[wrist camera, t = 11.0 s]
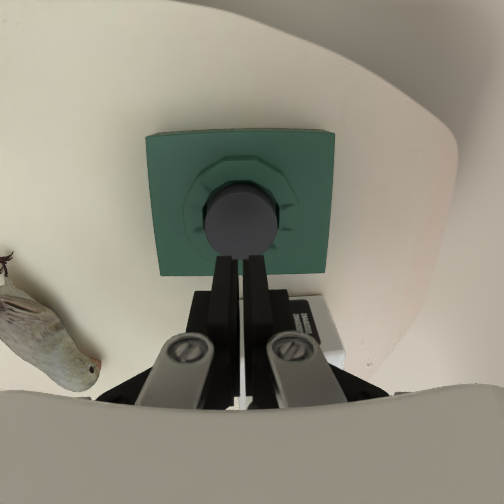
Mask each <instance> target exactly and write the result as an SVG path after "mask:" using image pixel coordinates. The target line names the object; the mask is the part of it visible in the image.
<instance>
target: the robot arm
mask: <svg viewBox="0 0 504 504" xmlns="http://www.w3.org/2000/svg"><path fill="white" fill-rule="evenodd" d="M243 327H244V361H245V391H246V397H248V396H252V401H253V406H257V407H258V408H259V410H225V409H227V408H228V407H229V406H234V397H240V308H239V278H238V259H233V260H232V256H217V257H216V263H215V270H214V276H213V283H212V290H211V291H195V292H194V296H193V300H192V305H191V309H190V314H189V318H188V323H187V328H186V332H185V333H181V334H178V335H175V336H173V337H171V338H170V339H169V340H167V341H166V343H165V344H164V345H163V347H162V349H161V351H160V353H159V355H158V357H157V359H156V361H155V363H154V365H153V367H151V368H149V369H147V370H145V371H144V372H142V373H140V374H138V375H136V376H135V377H133V378H131V379H129V380H127V381H125V382H123V383H122V384H120V385H118V386H116V387H114V388H112V389H110V390H109V391H107V392H105V393H103V394H102V395H100V396H99V397H98V398H97V399H96V400H92V399H91V398H90V397H76V398H73V397H67V396H60V395H54V394H48V393H42V392H33V391H24V390H8V391H0V504H504V388H502V387H499V386H494V385H489V384H477V383H475V384H458V385H451V386H443V387H438V388H433V389H428V390H422V391H416V392H395V394H394V396H389V394H388V393H387V392H385V391H384V390H382V389H381V388H379V387H376V386H374V385H372V384H370V383H368V382H366V381H364V380H362V379H360V378H358V377H356V376H354V375H352V374H350V373H348V372H346V371H344V370H342V369H340V368H338V367H336V366H334V365H332V364H330V363H328V362H327V360H326V358H325V356H324V354H323V352H322V350H321V348H320V346H319V345H318V343H317V341H316V340H315V339H314V338H313V337H311V336H310V335H309V334H306V333H303V332H300V331H296V327H295V322H294V318H293V313H292V309H291V305H290V300H289V296H288V292H287V290H286V289H280V290H269V289H268V282H267V275H266V268H265V261H264V255H249V259H243Z"/></svg>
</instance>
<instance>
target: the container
mask: <svg viewBox="0 0 504 504" xmlns="http://www.w3.org/2000/svg"><path fill="white" fill-rule="evenodd" d="M289 300H290V305H291V309H292V313H293V318H294V322H295V327H296V331H300V332H303V333H306V334H309V335H310V336H311V337H313V338H314V339H315V340H316V341H317V343H318V345H319V346H320V348H321V350H322V352H323V354H324V356H325V358H326V360H327V362H328V363H330V364H332V365H334V366H336V367H338V368H340V369H342V370H343V366H344V361H345V356H346V352H345V349H344V346H343V344H342V341H341V339H340V336H339V333H338V331H337V328H336V325H335V323H334V320H333V318H332V315H331V313H330V310H329V308H328V305H327V303H326V300H325V298H324V297H323V296H322V295H316V296H301V297H289ZM239 308H240V397H238V404H239V410H259V408H258V407H257V406H253V401H252V396H248V397H246V391H245V361H244V327H243V300H239Z"/></svg>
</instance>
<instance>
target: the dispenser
mask: <svg viewBox="0 0 504 504" xmlns="http://www.w3.org/2000/svg"><path fill="white" fill-rule="evenodd" d="M145 139H146V154H147V167H148V178H149V189H150V199H151V208H152V217H153V225H154V233H155V241H156V248H157V255H158V262H159V269H160V275H161V276H214V270H215V263H216V257H217V256H223V255H221V254H219V253H218V252H217V251H216V250H214V249H213V247H212V246H211V245H210V243H209V242H208V240H207V237H206V234H205V218H206V215H207V212H208V209H209V206H210V203H211V201H212V199H213V198H214V196H215V195H216V194H217V193H218V192H219V191H221V190H222V189H224V188H226V187H228V186H230V185H234V184H248V185H252V186H255V187H257V188H259V189H260V190H262V191H263V192H264V193H265V194H266V195H267V196H268V198H269V199H270V201H271V203H272V205H273V208H274V211H275V215H276V218H277V226H278V227H277V234H276V237H275V240H274V242H273V243H272V245H271V246H270V247H269V248H268V250H267V251H265V252H264V253H263V254H261V255H264V261H265V268H266V275H271V274H308V273H325V267H326V258H327V248H328V237H329V226H330V214H331V200H332V185H333V168H334V147H335V133H332V132H329V131H325V130H314V129H283V128H241V129H209V130H191V131H176V132H164V133H156V134H153V135H150V136H147V137H146V138H145ZM232 260H233V259H232ZM238 275H243V260H238Z"/></svg>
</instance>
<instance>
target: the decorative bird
mask: <svg viewBox="0 0 504 504" xmlns="http://www.w3.org/2000/svg"><path fill="white" fill-rule="evenodd" d="M13 252H14V251H13ZM13 252H12V254H13ZM12 254H11V255H12ZM11 255H9V256H6V257H0V263H2V265H3V267H4V270H5V285H2V286H0V339H1V340H2V341H3V342H4V343H5V344H6V345H7V346H8V347H9V348H10V349H11V350H12V351H13V352H14V353H15V354H17V355H18V356H19V357H21V358H22V359H23V360H25V361H26V362H28V363H30V364H32V365H34V366H35V367H37V368H39V369H40V370H41V371H43V372H44V373H46V374H47V375H48V376H49V377H50V378H51V379H52V380H53V381H54V382H56V383H57V384H58V385H60V386H61V387H63V388H65V389H67V390H70V391H73V392H82V391H86V390H88V389H89V388H90V387H92V386H93V385H94V384H95V383H96V381H97V379H98V377H99V374H100V370H101V361H99V360H96V359H93V358H88V357H86V356H85V355H84V354H82V353H81V352H80V351H79V350H77V349H76V346H75V343H74V342H73V340H72V338H71V337H70V336H69V334H68V333H67V331H66V329H65V327H64V325H63V323H62V321H61V319H60V318H59V316H58V315H57V314H56V313H55V312H54V311H52V310H51V309H49V308H47V307H45V306H43V305H42V304H40V303H39V302H37V301H36V300H35V299H33V298H32V297H30V296H28V295H27V294H26V293H25V292H24V291H23V290H21V289H19V288H16V287H14V286H13V285H12V284H11V282H10V280H9V278H8V276H7V274H8V272H7V268H6V265H5V264H6V263H7V262H5V261H9V260H11V259H12V258H10V257H11ZM8 258H10V259H8ZM3 267H2V268H3ZM2 268H1V269H0V271H1V270H2ZM1 273H2V272H1ZM1 273H0V274H1Z"/></svg>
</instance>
